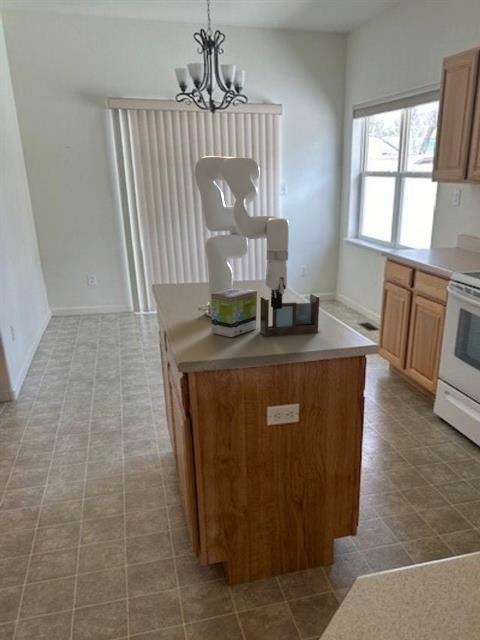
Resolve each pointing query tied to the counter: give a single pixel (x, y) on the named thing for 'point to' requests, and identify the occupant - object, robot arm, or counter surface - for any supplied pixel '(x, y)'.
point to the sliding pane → (284, 315)
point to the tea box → (234, 311)
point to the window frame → (304, 318)
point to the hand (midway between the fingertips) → (276, 307)
